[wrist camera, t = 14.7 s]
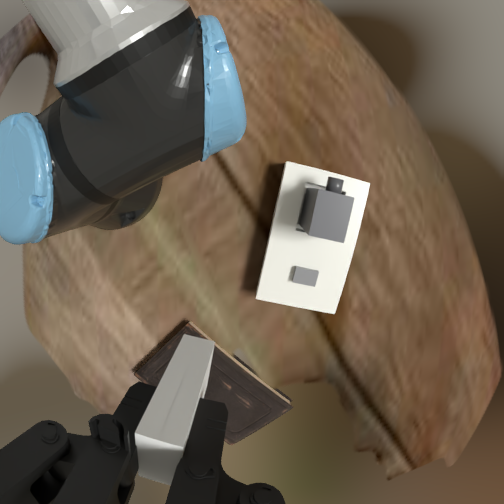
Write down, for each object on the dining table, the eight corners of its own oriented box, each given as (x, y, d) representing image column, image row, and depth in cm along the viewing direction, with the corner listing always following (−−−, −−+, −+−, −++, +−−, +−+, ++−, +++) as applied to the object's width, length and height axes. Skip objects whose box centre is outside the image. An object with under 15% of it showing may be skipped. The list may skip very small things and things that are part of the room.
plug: (298, 224, 40) (308, 235, 31) (309, 175, 38) (321, 173, 30) (327, 230, 40) (343, 243, 31) (337, 182, 38) (357, 183, 30)
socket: (256, 289, 43) (255, 301, 38) (284, 163, 39) (287, 160, 34) (329, 304, 43) (335, 316, 39) (361, 183, 39) (372, 183, 34)
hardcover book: (191, 316, 45) (188, 323, 42) (292, 399, 48) (293, 407, 45) (137, 369, 48) (132, 376, 45) (230, 438, 51) (229, 446, 48)
